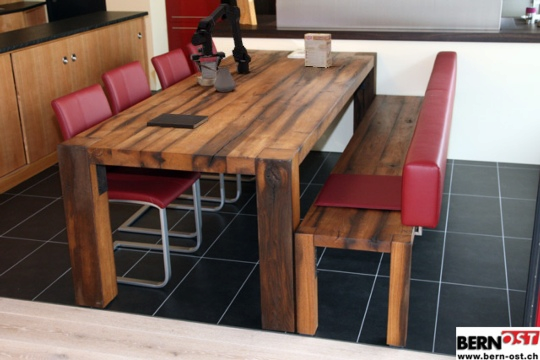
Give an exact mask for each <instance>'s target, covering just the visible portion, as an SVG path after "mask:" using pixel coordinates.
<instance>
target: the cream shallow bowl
mask: <svg viewBox="0 0 540 360" xmlns="http://www.w3.org/2000/svg"><path fill="white" fill-rule="evenodd" d="M216 78H217V77H216ZM216 78H202V75H201V76H196V81H197V83H198V85H200V86H201V87H206V86H214V84H215V81H216Z"/></svg>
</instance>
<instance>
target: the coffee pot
mask: <svg viewBox="0 0 540 360" xmlns="http://www.w3.org/2000/svg"><path fill="white" fill-rule="evenodd" d="M197 64H198V65H199V66H202V67H204V68H207V69H210V70H212V71H215V72H217V78H216V81H215V84H214V85H213V87H214V89H215V90H216V91H218V92H220V93H227V92H228V93H229V92H231V91H233V90H234V89H235V87H236V86H237V85H236V82H235V79H234V78H233V76H232V74H231V72H230V67H231V66H230V65H226V64H223V65H219V66H218V71H217V70H214V69H211V68H209V67H207V66H205V65H202V64H199V63H196V62H195V65H194V66H198V65H197Z"/></svg>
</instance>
